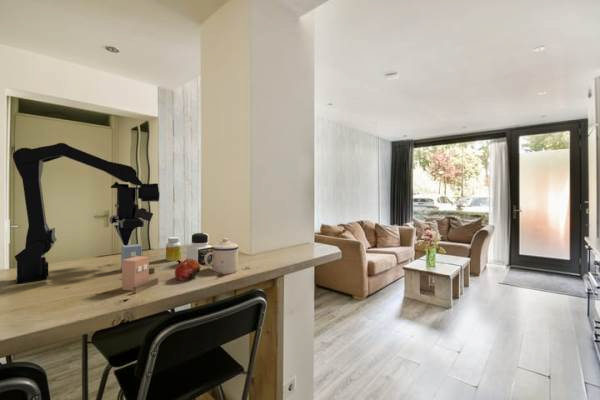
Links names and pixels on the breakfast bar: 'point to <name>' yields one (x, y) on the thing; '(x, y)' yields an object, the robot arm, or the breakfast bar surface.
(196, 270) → the pomegranate
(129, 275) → the pink box
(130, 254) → the blue block
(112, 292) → the breakfast bar surface
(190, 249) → the medicine bottle
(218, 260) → the teacup with lid
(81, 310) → the breakfast bar surface
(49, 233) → the robot arm
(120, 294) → the breakfast bar surface
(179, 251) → the supplement bottle
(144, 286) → the plinth
